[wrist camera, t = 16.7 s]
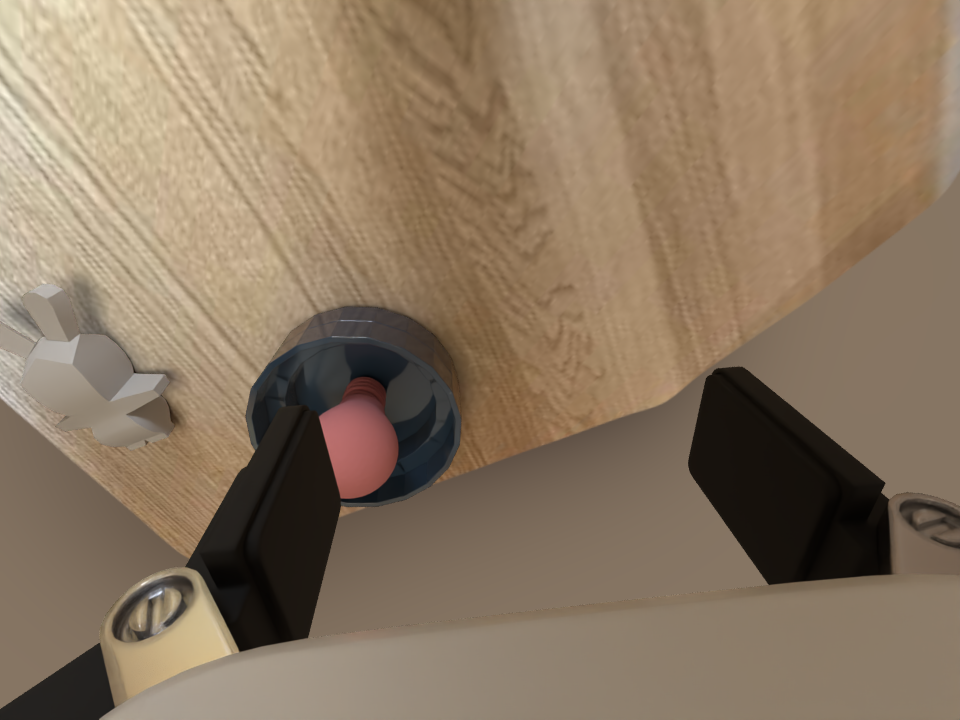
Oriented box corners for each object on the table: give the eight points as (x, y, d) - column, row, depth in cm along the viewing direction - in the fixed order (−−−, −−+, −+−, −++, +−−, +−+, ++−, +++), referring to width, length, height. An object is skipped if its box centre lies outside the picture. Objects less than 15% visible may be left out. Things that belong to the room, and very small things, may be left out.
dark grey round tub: (239, 404, 42) (208, 449, 37) (337, 265, 37) (318, 292, 31) (391, 484, 48) (384, 533, 43) (494, 374, 43) (502, 413, 37)
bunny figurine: (93, 474, 40) (-83, 341, 31) (124, 433, 44) (-24, 307, 35) (187, 440, 39) (33, 294, 30) (209, 402, 43) (79, 264, 35)
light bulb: (364, 435, 44) (341, 533, 34) (311, 386, 41) (267, 477, 31) (420, 397, 43) (415, 488, 32) (369, 343, 40) (344, 424, 29)
